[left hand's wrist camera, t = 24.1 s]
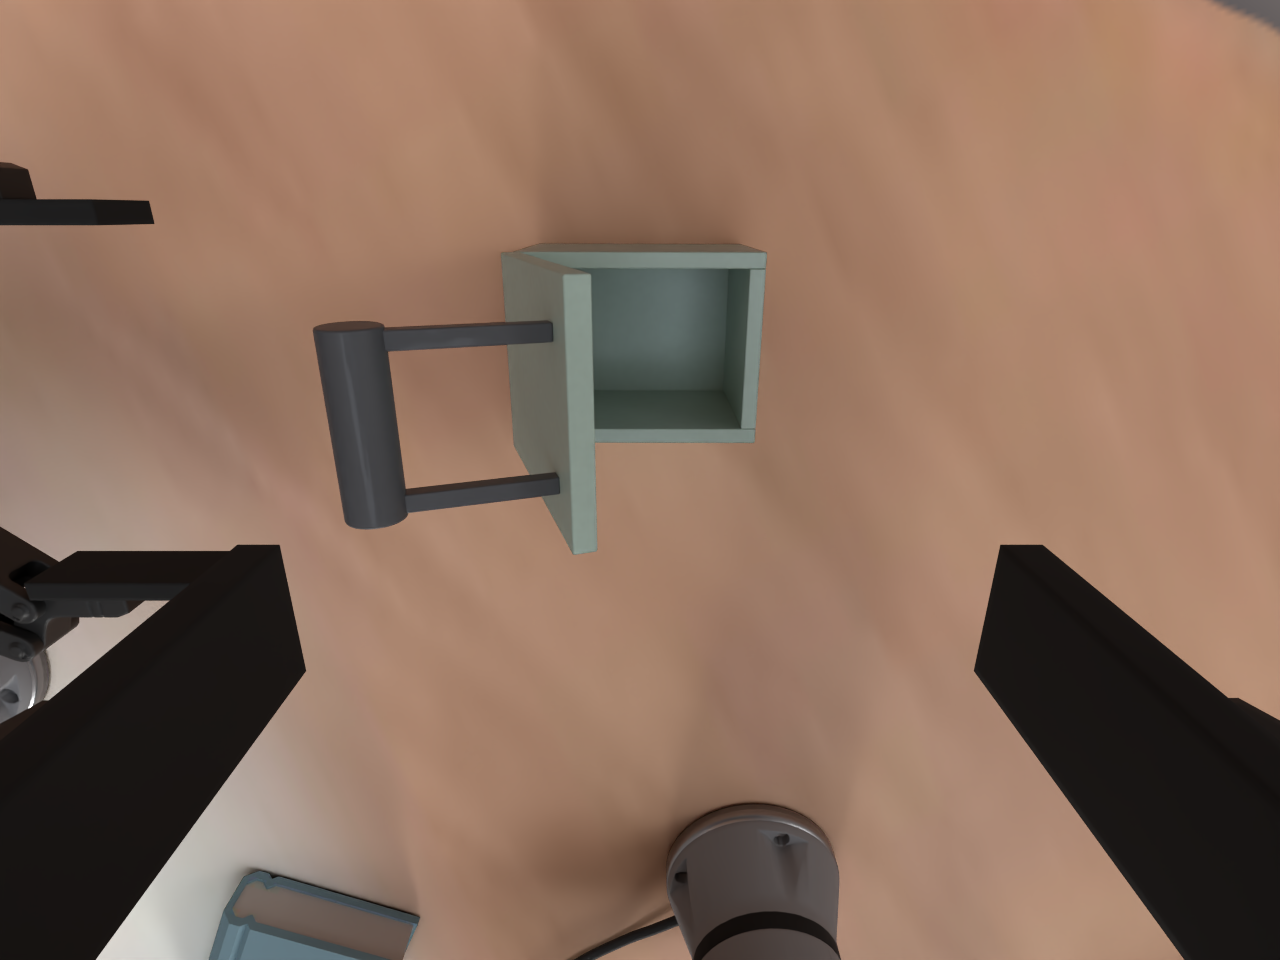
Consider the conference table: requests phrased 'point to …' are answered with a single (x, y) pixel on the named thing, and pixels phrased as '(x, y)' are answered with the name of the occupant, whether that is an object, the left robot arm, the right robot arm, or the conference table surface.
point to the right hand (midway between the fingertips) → (176, 411)
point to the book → (307, 924)
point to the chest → (672, 338)
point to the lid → (540, 402)
